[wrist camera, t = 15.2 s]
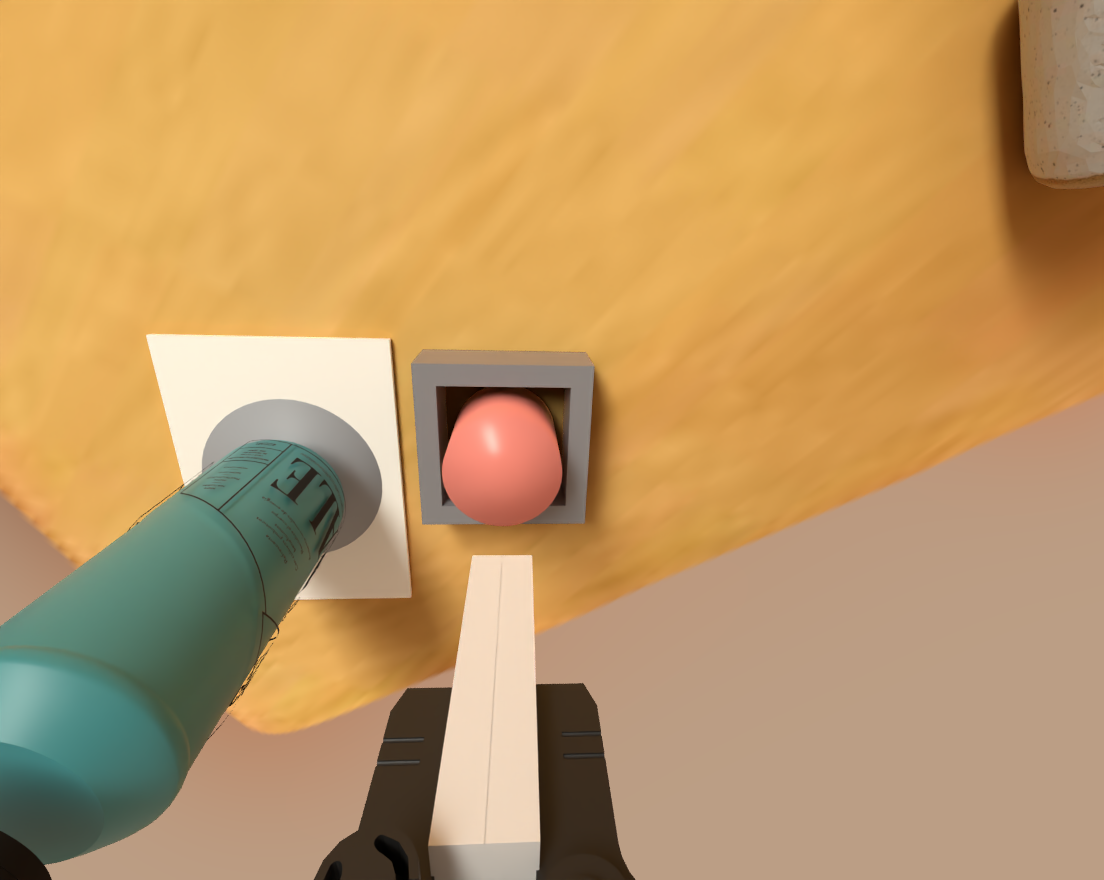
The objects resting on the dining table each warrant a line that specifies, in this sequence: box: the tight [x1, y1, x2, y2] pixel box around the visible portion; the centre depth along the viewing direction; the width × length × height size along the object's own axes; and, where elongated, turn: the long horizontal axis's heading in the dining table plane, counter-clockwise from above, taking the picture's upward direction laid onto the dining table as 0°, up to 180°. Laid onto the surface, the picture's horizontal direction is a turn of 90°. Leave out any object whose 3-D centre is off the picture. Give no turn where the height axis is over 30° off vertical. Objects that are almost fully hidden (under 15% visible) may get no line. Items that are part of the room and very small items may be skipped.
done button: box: [442, 387, 562, 526], centre depth 24 cm, size 5×5×5 cm
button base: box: [411, 350, 594, 524], centre depth 25 cm, size 8×8×3 cm
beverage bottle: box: [0, 440, 346, 880], centre depth 17 cm, size 6×7×20 cm
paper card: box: [146, 334, 412, 600], centre depth 27 cm, size 15×11×1 cm
